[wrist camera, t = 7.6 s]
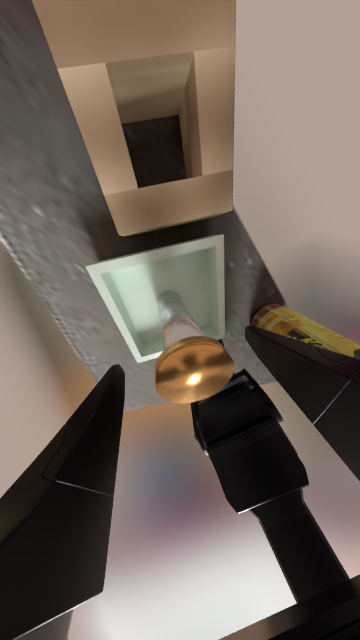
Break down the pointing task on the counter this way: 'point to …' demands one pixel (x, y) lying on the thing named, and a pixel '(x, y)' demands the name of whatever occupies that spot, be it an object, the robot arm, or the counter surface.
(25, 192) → the counter surface
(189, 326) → the orange-capped jar
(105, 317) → the counter surface
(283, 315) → the sauce bottle
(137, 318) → the sage tray
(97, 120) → the block
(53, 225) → the counter surface
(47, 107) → the counter surface
